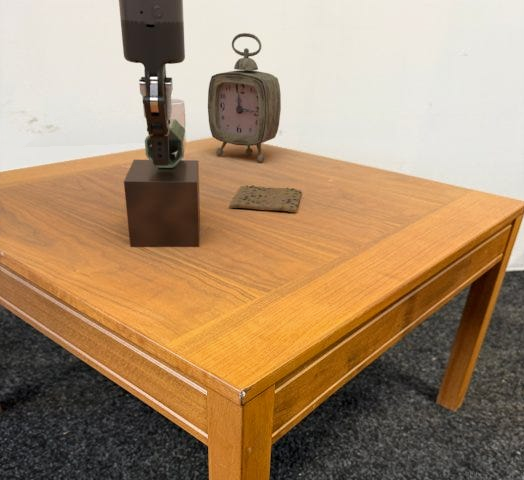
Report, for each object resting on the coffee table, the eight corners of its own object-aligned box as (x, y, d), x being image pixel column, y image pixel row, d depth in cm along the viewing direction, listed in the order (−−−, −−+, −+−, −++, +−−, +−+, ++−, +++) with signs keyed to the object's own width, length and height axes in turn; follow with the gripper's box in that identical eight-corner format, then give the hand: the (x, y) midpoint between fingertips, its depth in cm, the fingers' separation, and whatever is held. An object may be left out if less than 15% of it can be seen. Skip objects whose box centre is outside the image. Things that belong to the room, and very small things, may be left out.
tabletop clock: (208, 156, 127) (206, 31, 114) (227, 149, 134) (227, 30, 120) (264, 165, 122) (269, 35, 108) (281, 157, 129) (287, 34, 115)
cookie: (239, 188, 106) (239, 183, 105) (302, 193, 105) (302, 188, 104) (227, 207, 96) (227, 202, 95) (296, 213, 95) (297, 207, 94)
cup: (184, 168, 81) (182, 128, 78) (146, 167, 81) (143, 127, 78) (186, 155, 89) (185, 118, 86) (152, 154, 88) (149, 117, 85)
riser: (130, 246, 80) (123, 181, 75) (138, 218, 90) (133, 159, 85) (199, 246, 81) (197, 181, 76) (200, 219, 91) (198, 160, 86)
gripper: (126, 14, 71) (138, 152, 81) (113, 18, 60) (128, 177, 70) (184, 16, 72) (189, 153, 81) (182, 20, 61) (188, 177, 70)
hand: (161, 164), depth 75 cm, fingers closed
